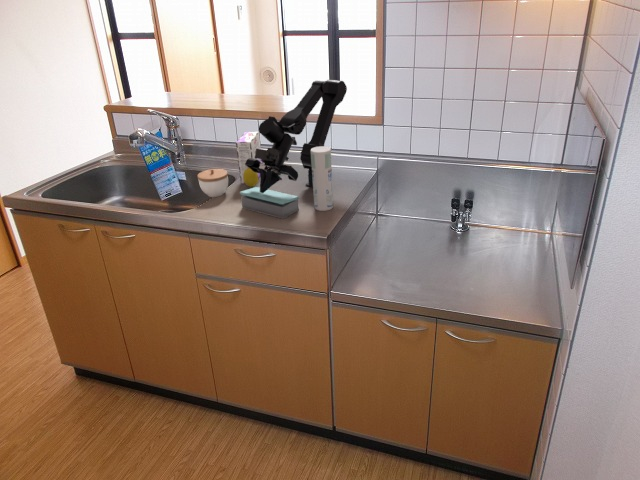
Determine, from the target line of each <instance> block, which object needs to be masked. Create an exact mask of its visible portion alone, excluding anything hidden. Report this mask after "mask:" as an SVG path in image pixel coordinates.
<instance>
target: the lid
mask: <svg viewBox="0 0 640 480" xmlns="http://www.w3.org/2000/svg"><path fill="white" fill-rule="evenodd" d="M239 195H242V196H244V195H245V196H249V197H253V198H257V199H262V200H266V201H270V202H274V203H278V204H282V205H283V204H286V203H288V202H291V201H294V200H297V199H298V200H299V196H297V195H295V194H294V195H293V194H289V193H286V192H285V193H284V192H280V191H276V190H273V189H267V190H266V191H265V192H264V193H261V192H260V186H254V187H253V188H251V187H250V188H249V189H245V190H242V191H239Z"/></svg>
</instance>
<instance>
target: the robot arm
mask: <svg viewBox="0 0 640 480" xmlns="http://www.w3.org/2000/svg"><path fill="white" fill-rule="evenodd" d="M347 91H348V87H347V85H346V83H345V81H343V80H337V79H326V80H324V81H323V80H314V81H313V82H312V83H311V86H310V87H309V89H308V90H307V91H306V93H305V94H304V96H303V97H302V98H301V100H300V101H299V102H298V103H297V105H296V106H295V107H294V108H293V109H291V110H289V111H287V112H286V113H285V114H284V115H283V116H282V117H281V119H279V120H278V119H277V118H276V117H275V116H271V115H270V116H268V118H267V119H264V120H263V121H262V122H261V123H260V124H259V126H258V132H259V134H261V136H262V137H264V138H265V140H267V141H268V142H269V143H270V144H272V146H271V147H268V148H267V149H262V148H261V149H256V153H255V159H252V158H249V159H247V161H246V163H245V165H246V166H247V167H248V168H250V169H251V170H252V171H253V172H255V173H260V177H259V179H260V180H259V181H260V182H259V188H260V192H261V193H264V192H265V191H266V190H267V189H268V190H270V188H271V187H272V186H273V185H275V184H277V183H278V182H279V181H282V180H283V178H282V177H283V175H284V176H287V178H288V179H289V180H290V181H294V182H297V180H298V178H299V173H298V171H297V170H296V169H295V168H294V167H293V166H292V165H287V164H285V161H286V162H287V161H288V160H289V157H288V155H289V152H290V150H291V147H292V146H298V142H297V140H296V137H295V136H296V135H300V134H302V132H303V131H304V129H305V127H306V125H307V118H308V116H309V115H310V113H311V112H312V111H313V110H314V108H315V107H316V105H317V104H318V103H319V101H320V100H321V99H322V105H321V107H320V110H319V114H318V117H317V120H316V123H315V126H314V130H313V133H312V136H311V139H310V141H309V142H304V143H303V145H302V149H301V151H300V152H299V154H300V157H299V158H300V161H301V164H302V167H303V169H306V170H307V169H308V170H307V173H308V175H307V178H308V179H307V180H308V181H307V183H305V186H307V187H311V188H313V179H312V165H311V149H312V148H314V147H319V146H325V143H326V140H327V136H328V134H329V130H330V127H331V124H332V121H333V117H334V114H335V112H336V108H337V106H338V105H340V104H341V103H342V102H343V101H344V98H345V97H346V93H347ZM291 135H295V136H291ZM257 158H258V159H261V161H262V163H263V164H262V163H261V162H260V161H259V160H257Z"/></svg>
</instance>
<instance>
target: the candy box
mask: <svg viewBox="0 0 640 480" xmlns="http://www.w3.org/2000/svg"><path fill="white" fill-rule="evenodd" d="M260 139H261V138H260V132H259V131H245V132H244V133H243V134H242V135H241V137H239V138H238V140H237V141H236V142H235V146H236V154H237V163H238V170H239V177H240V184H245V182H244V179H243V174H244V171H245V170H246V169H247V168H248V167H247V166H246V165H245V163H246V161H247V159H249V158H252V159H255V153H256V149H261V150H262V148H261V145H262V144H261V140H260ZM257 160H259V161H260V162H261V163H262V164H264V163H263V162H262V161H261V159H258V158H257ZM258 179H260V173H258Z"/></svg>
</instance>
